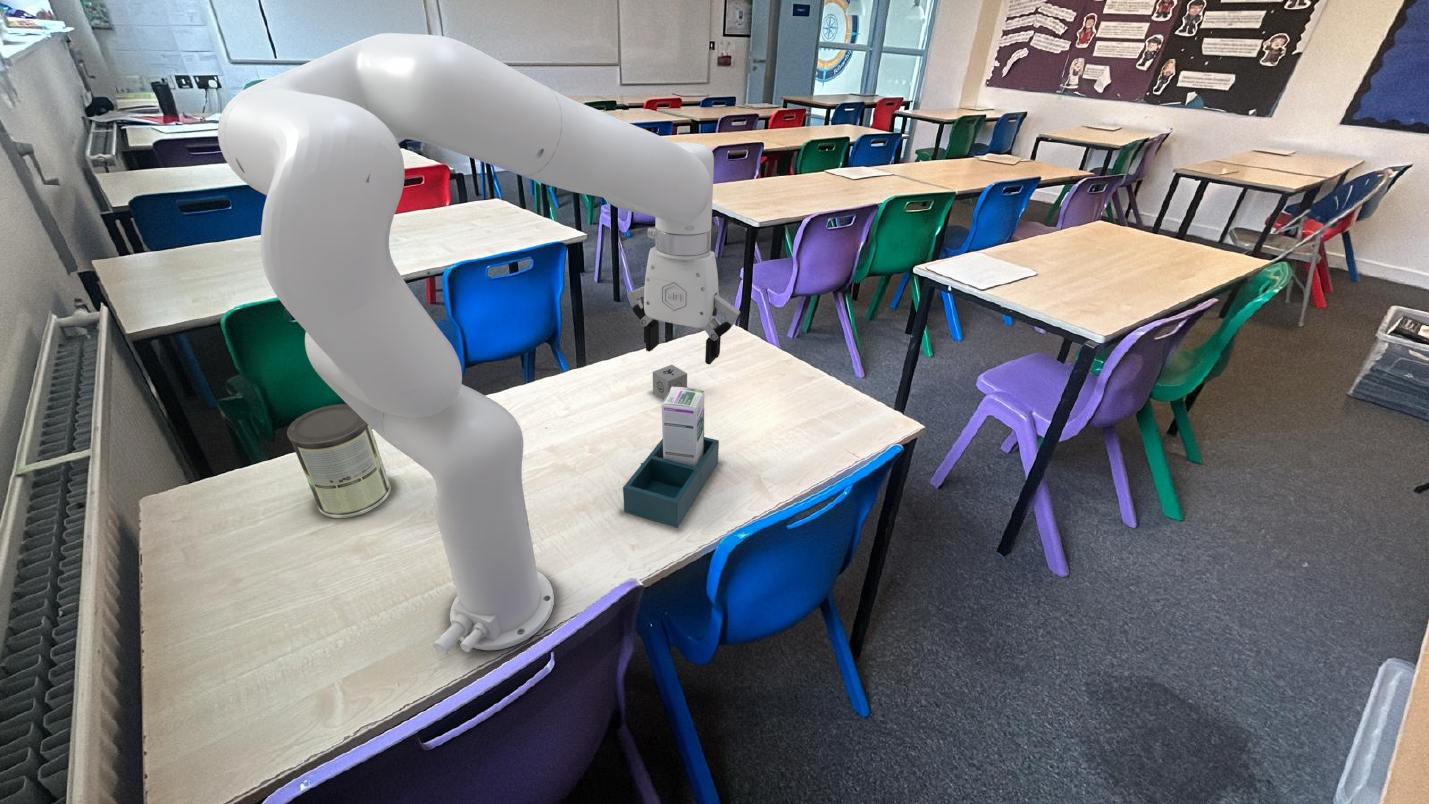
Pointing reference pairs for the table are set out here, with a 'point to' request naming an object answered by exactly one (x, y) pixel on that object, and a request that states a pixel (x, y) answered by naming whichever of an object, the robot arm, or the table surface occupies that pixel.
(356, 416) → the coffee can
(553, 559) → the table surface
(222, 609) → the table surface
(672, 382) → the dice cube
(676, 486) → the tray
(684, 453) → the syrup box
